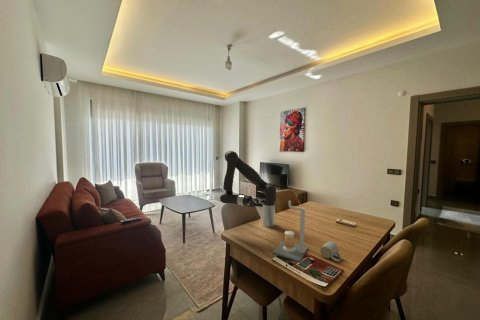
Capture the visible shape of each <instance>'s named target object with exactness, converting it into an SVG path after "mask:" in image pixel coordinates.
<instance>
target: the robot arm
mask: <svg viewBox="0 0 480 320" xmlns="http://www.w3.org/2000/svg"><path fill="white" fill-rule="evenodd" d="M224 160H225V161H226V172H225V175H224V178H223V185H222V186H223V187H222V189H223V191H225V193H223V194H220V196H219V200H220V202H221V203H223V204H230V205H231V204H232V205H233V204H234V205H239V206H242V207H243V206H244V207H248V208H249V207H250V208H251V207H252V208H255V207H256V208H257V207H259V208H262V226H263V225H264V226H263V227H265V228H272V227H274V226H275V213H276V212H275V210H276V209H275V206H276V205H275V203H276V200H277V189H276V187H275V186H274V185H271V184H269V183H267V182H266V181H265V180H263V179H262V177H261V176H260V174H259V173H258V172H257V171H256V170H255V169H254V167H252V166H251V165H249V164H248V163H246V162H245V161H244V160H242V159H241V158H240V157H239V155H238V153H237V152H235V151H233V150H227V151H226V152H225V153H224ZM236 169H237V170H238V172H239V174H241V175H242V176H243V177H244V178H245V179H246V180H248V181H249V182H250V183H252V184H253V185H254V186H256V188H258V189H259V190H260V192H261V193H262V194H263V195H264V196H265V199H264V198H263V197H262V198H261V197H255V198H253V197H252V195H245V194H234V192H233V188H234V187H233V184H234V177H235V171H236Z"/></svg>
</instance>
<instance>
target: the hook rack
mask: <svg viewBox="0 0 480 320" xmlns="http://www.w3.org/2000/svg"><path fill="white" fill-rule="evenodd" d="M287 206H288V207H289V209H291V210H293V209H294V210H297V211H300V215H299V216H300V219H299V220H300V221H299V223H300V224H299V243H296V242H294V250H293V251H287V250H285V249H284V246H285V239H284V240H282V242H280V243H279V245H277V247H276V248H275V249H274V250H273V251H272V254H273V255H275V256H279V257H283V258H285V259H289V260H292V261H294V262H296V263H297V262H298V263H301V260H302V259H303V258H304V255H306V253H307V251H308V250H309V246H306V245H305V222H306V208H305V207H300V206H295V205H292V201H291V200H288V205H287Z"/></svg>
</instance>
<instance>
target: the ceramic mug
mask: <svg viewBox="0 0 480 320" xmlns="http://www.w3.org/2000/svg"><path fill="white" fill-rule="evenodd" d="M320 254H321V256H322V257H323V258H324V259H325V258H326V259H332V260H333V261H335V262H340V261H341V260H342V256H341V254H340V253H339V247H338V246H337V244H336V243H335V242H333V241H331V240H330V241H327V242H325V243H324V244H323V245H321V247H320ZM334 256H337V257H338V258H339V259H337V258H336V257H334Z"/></svg>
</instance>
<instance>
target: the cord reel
mask: <svg viewBox="0 0 480 320" xmlns="http://www.w3.org/2000/svg"><path fill="white" fill-rule="evenodd" d="M295 235H296V233H295V232H294V231H293V230H285V231H284V240H285V246H284V249H285V250H287V251H293V250H294V243H295Z"/></svg>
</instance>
